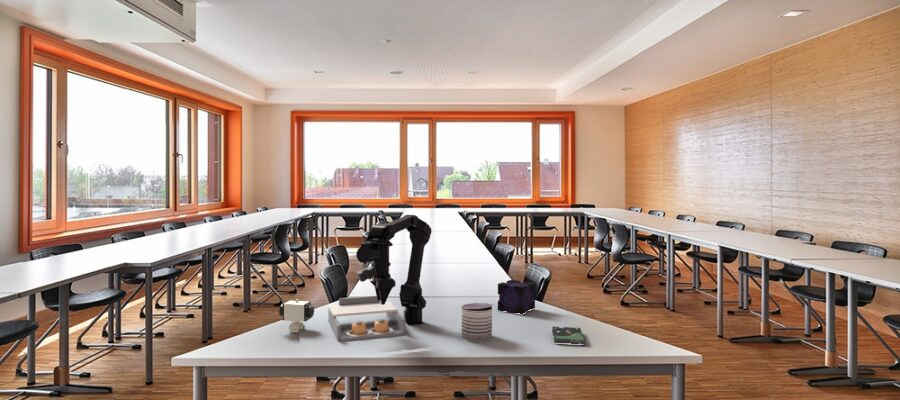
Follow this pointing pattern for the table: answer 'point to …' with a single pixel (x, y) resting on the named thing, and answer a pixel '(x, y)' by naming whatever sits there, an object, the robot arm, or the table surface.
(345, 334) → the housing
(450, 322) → the table surface
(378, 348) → the table surface
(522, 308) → the energy cube
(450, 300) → the table surface
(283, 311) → the pneumatic valve
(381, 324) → the orange grey rounded piece
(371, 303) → the lid
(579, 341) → the disk drive
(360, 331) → the orange grey domed knob
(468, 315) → the can
